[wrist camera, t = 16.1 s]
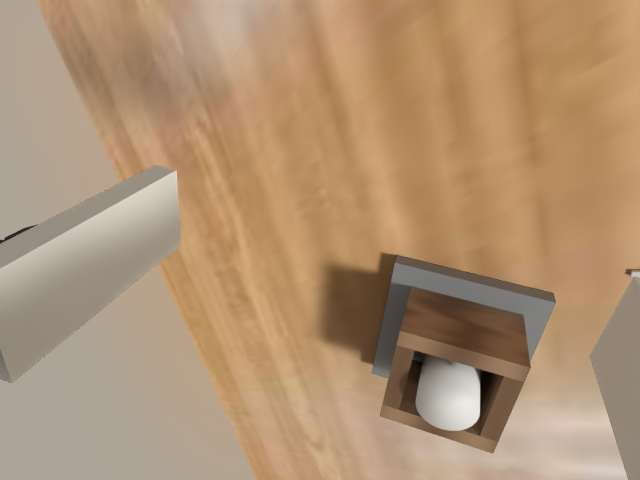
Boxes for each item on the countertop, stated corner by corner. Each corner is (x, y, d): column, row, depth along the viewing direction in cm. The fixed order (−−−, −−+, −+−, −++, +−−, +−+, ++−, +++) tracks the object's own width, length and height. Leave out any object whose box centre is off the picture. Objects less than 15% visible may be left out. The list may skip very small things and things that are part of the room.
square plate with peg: (374, 364, 49) (351, 436, 41) (397, 255, 43) (376, 314, 34) (506, 404, 46) (511, 491, 38) (553, 293, 40) (572, 369, 31)
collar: (392, 365, 47) (379, 416, 41) (411, 286, 42) (399, 330, 36) (491, 394, 44) (493, 453, 39) (523, 314, 40) (530, 367, 34)
